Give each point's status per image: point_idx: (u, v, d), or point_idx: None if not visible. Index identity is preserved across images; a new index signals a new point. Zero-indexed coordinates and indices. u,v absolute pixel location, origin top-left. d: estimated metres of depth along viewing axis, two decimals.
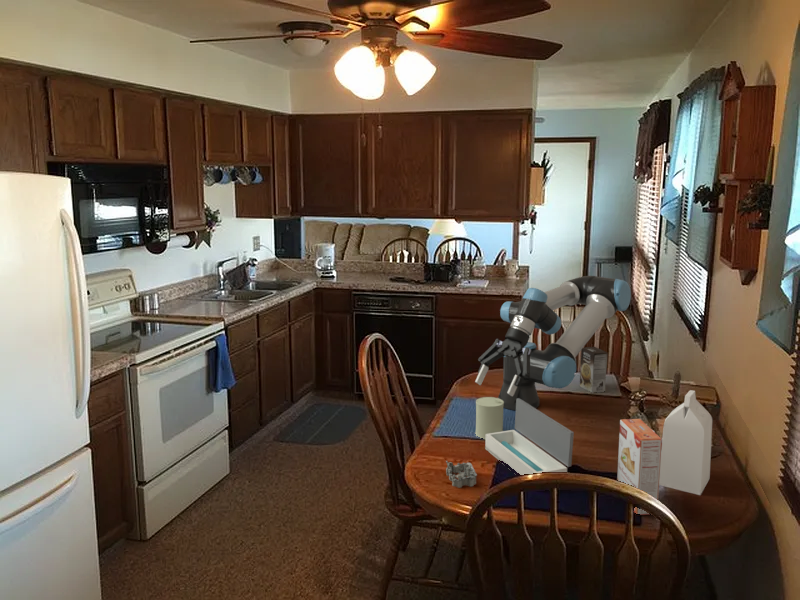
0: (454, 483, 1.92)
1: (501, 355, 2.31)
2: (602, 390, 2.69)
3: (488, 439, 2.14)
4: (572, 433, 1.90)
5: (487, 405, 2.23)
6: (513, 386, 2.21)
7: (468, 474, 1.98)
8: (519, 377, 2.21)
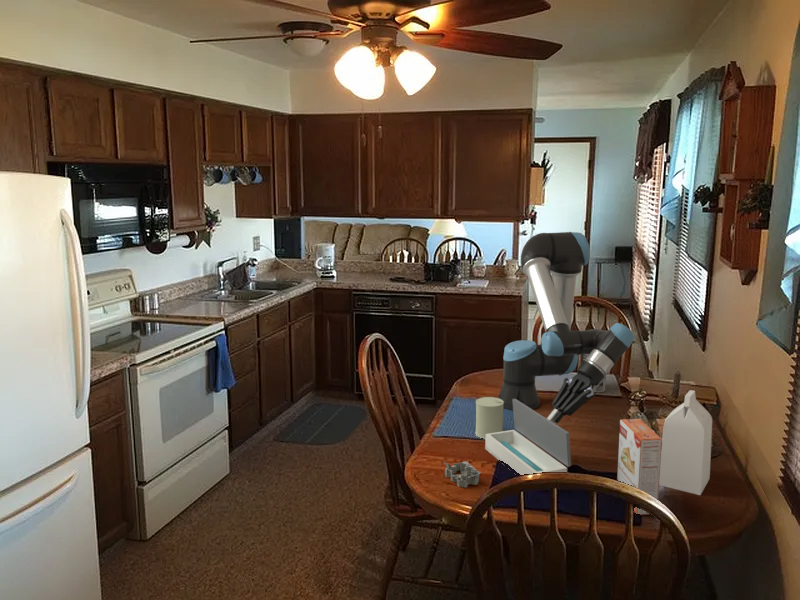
0: (460, 483, 1.92)
1: None
2: (602, 390, 2.69)
3: (488, 439, 2.14)
4: (568, 434, 1.90)
5: (487, 405, 2.23)
6: None
7: None
8: None
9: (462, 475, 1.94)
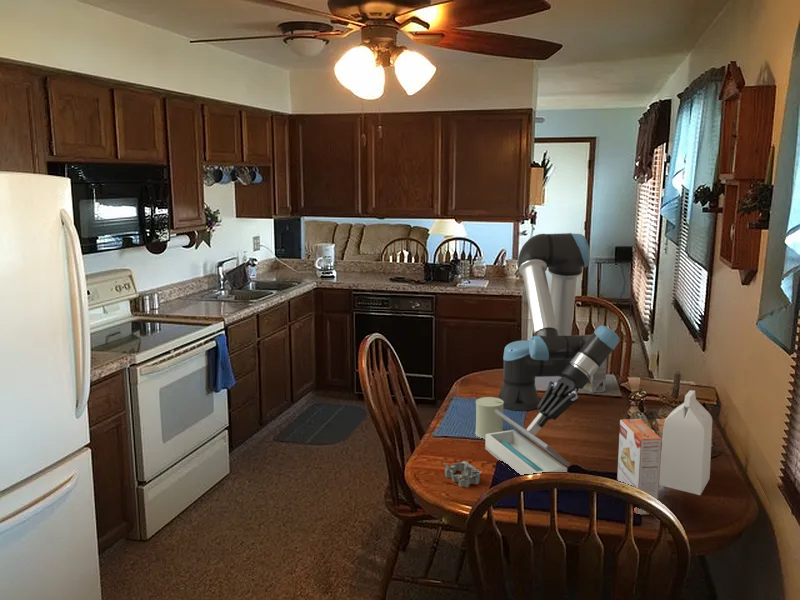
0: (461, 483, 1.92)
1: None
2: (602, 390, 2.69)
3: (488, 439, 2.14)
4: (547, 446, 1.88)
5: (487, 405, 2.23)
6: None
7: None
8: None
9: (463, 475, 1.94)
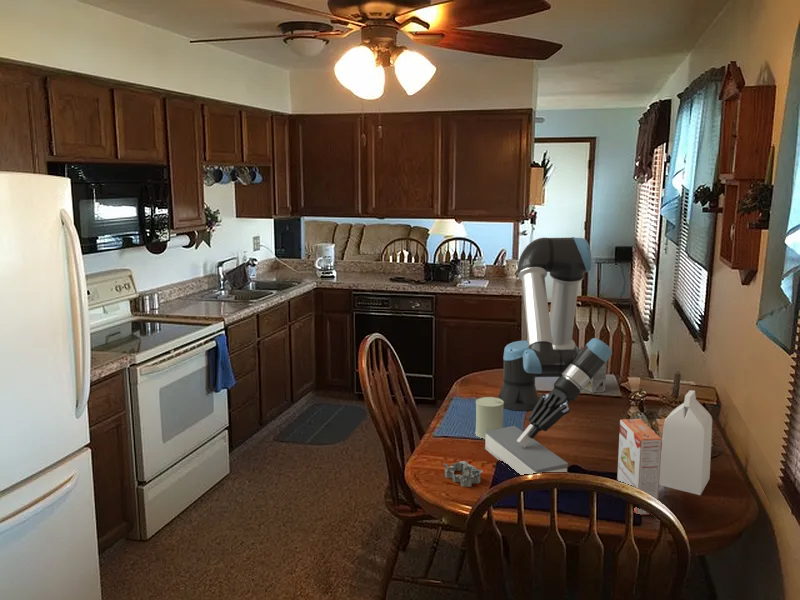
0: (464, 483, 1.92)
1: None
2: (602, 390, 2.69)
3: (488, 439, 2.14)
4: (537, 471, 1.89)
5: (487, 405, 2.23)
6: None
7: None
8: None
9: (464, 475, 1.95)
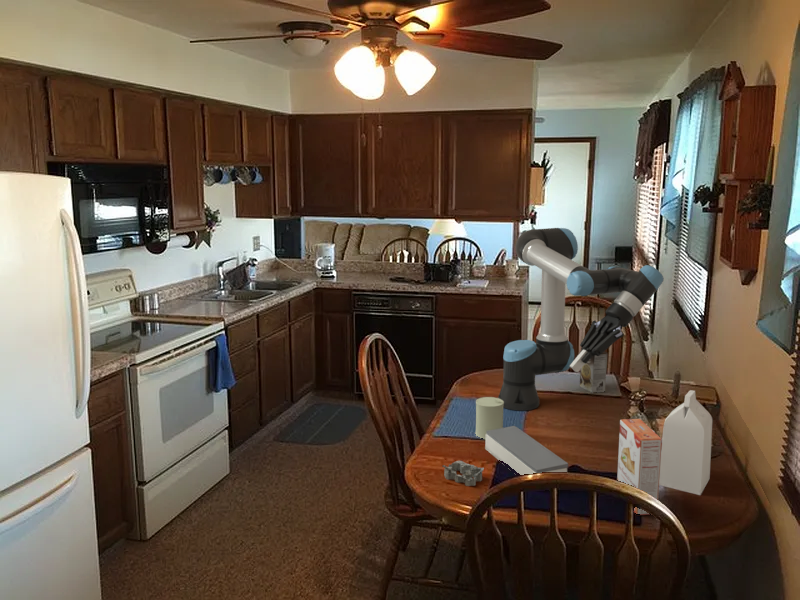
0: (469, 482, 1.93)
1: None
2: (602, 390, 2.69)
3: (488, 439, 2.14)
4: (537, 471, 1.89)
5: (487, 405, 2.23)
6: None
7: None
8: None
9: (467, 474, 1.95)
